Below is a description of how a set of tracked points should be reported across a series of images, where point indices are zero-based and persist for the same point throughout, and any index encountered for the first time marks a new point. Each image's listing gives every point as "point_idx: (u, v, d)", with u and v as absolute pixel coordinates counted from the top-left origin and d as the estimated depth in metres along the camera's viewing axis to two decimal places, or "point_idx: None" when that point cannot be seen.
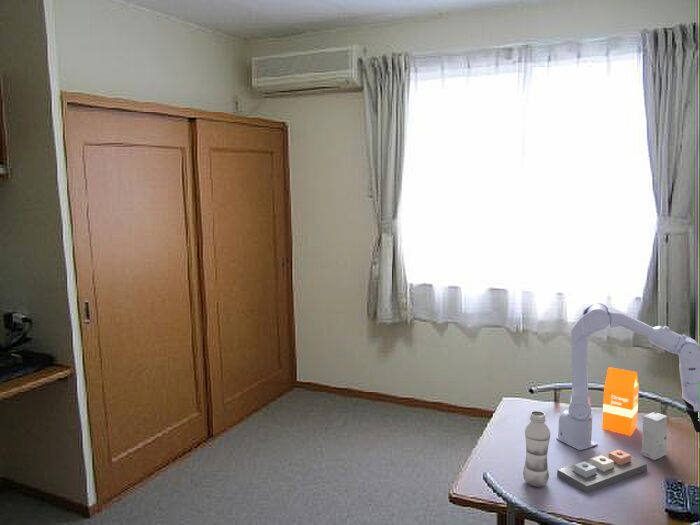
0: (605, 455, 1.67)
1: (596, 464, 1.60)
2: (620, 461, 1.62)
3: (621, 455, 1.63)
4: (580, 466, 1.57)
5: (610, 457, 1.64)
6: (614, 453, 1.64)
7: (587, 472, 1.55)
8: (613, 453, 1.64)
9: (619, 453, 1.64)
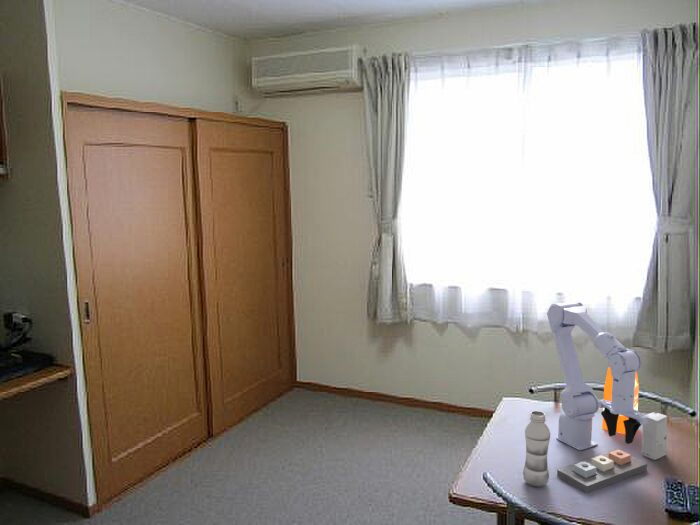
0: (605, 455, 1.67)
1: (596, 464, 1.60)
2: (620, 461, 1.62)
3: (621, 455, 1.63)
4: (580, 466, 1.57)
5: (610, 457, 1.64)
6: (614, 453, 1.64)
7: (587, 472, 1.55)
8: (613, 453, 1.64)
9: (619, 453, 1.64)
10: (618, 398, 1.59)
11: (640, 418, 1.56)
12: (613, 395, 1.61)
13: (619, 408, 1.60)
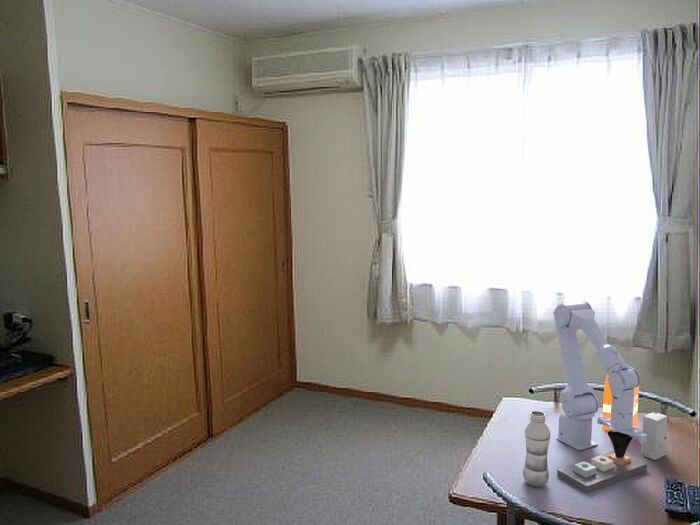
0: (605, 455, 1.67)
1: (596, 464, 1.60)
2: (620, 464, 1.62)
3: (621, 458, 1.63)
4: (580, 466, 1.57)
5: None
6: (614, 456, 1.64)
7: (587, 472, 1.55)
8: (613, 456, 1.64)
9: None
10: (617, 416, 1.60)
11: (639, 436, 1.56)
12: (612, 412, 1.62)
13: (618, 426, 1.60)
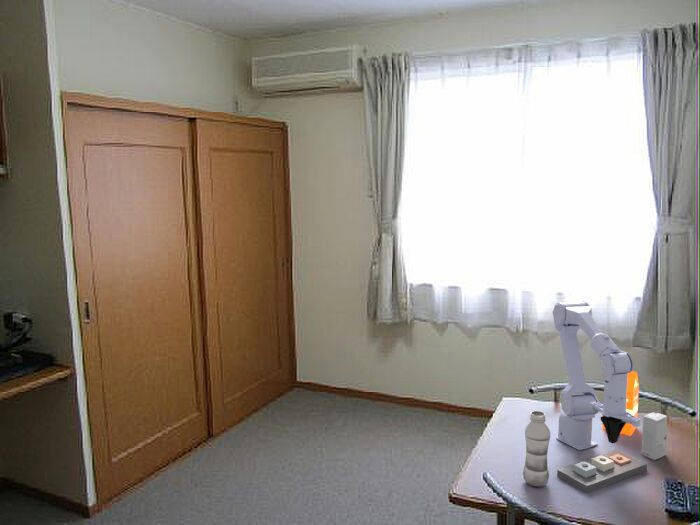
0: (605, 455, 1.67)
1: (596, 464, 1.60)
2: None
3: (621, 460, 1.63)
4: (580, 466, 1.57)
5: None
6: (614, 458, 1.64)
7: (587, 472, 1.55)
8: (613, 458, 1.64)
9: (619, 458, 1.64)
10: (610, 401, 1.58)
11: (632, 420, 1.54)
12: (605, 397, 1.59)
13: (611, 410, 1.58)
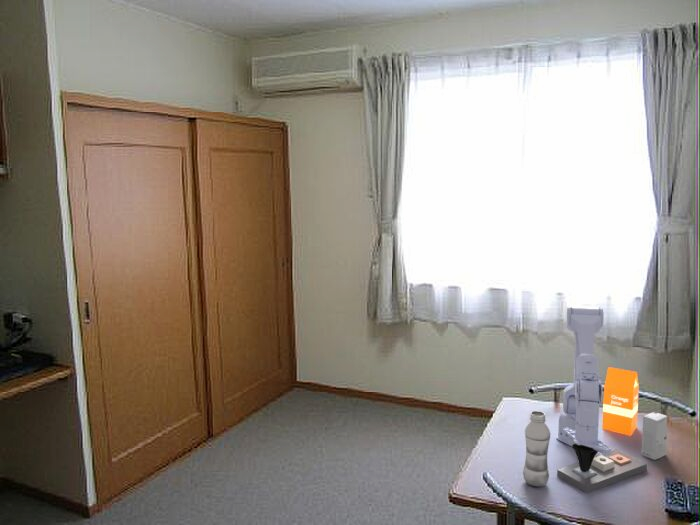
0: None
1: (596, 464, 1.60)
2: None
3: (621, 460, 1.63)
4: (580, 471, 1.57)
5: None
6: (614, 458, 1.64)
7: (587, 477, 1.55)
8: (613, 458, 1.64)
9: (619, 458, 1.64)
10: (581, 428, 1.54)
11: (603, 450, 1.50)
12: (577, 425, 1.55)
13: (582, 438, 1.54)
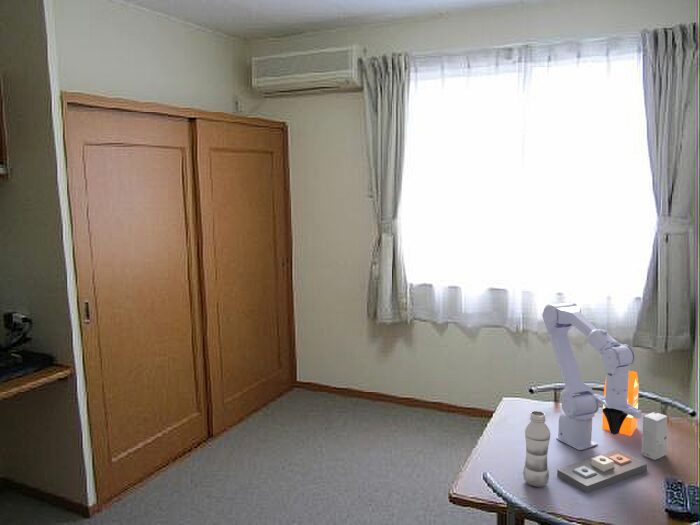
0: (605, 455, 1.67)
1: (596, 464, 1.60)
2: None
3: (621, 460, 1.63)
4: (580, 471, 1.58)
5: None
6: (614, 458, 1.64)
7: (587, 477, 1.55)
8: (613, 458, 1.64)
9: (619, 458, 1.64)
10: (612, 393, 1.61)
11: (634, 412, 1.57)
12: (607, 389, 1.63)
13: (613, 402, 1.61)
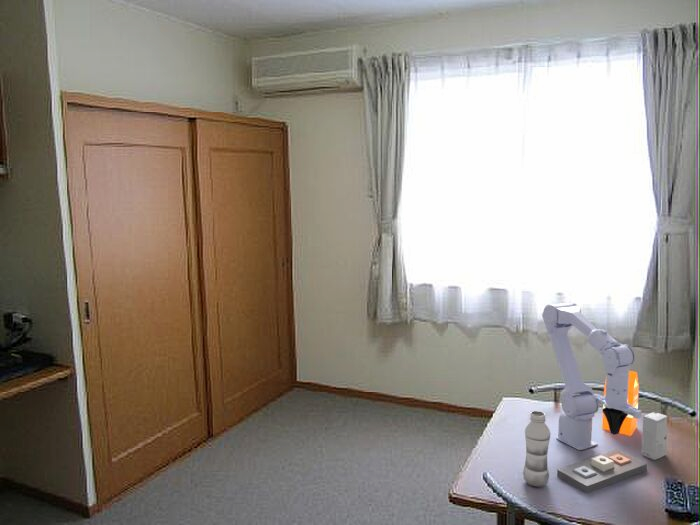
0: (605, 455, 1.67)
1: (596, 464, 1.60)
2: None
3: (621, 460, 1.63)
4: (580, 471, 1.58)
5: None
6: (614, 458, 1.64)
7: (587, 477, 1.55)
8: (613, 458, 1.64)
9: (619, 458, 1.64)
10: (612, 392, 1.61)
11: (634, 412, 1.57)
12: (607, 389, 1.63)
13: (613, 402, 1.61)
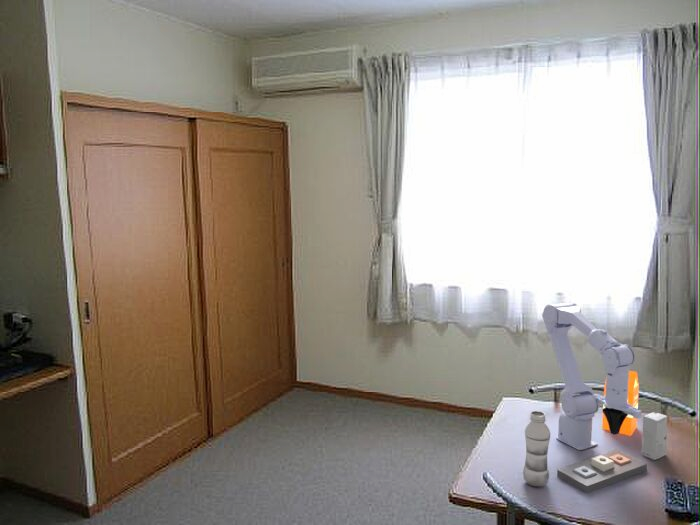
0: (605, 455, 1.67)
1: (596, 464, 1.60)
2: None
3: (621, 460, 1.63)
4: (580, 471, 1.58)
5: None
6: (614, 458, 1.64)
7: (587, 477, 1.55)
8: (613, 458, 1.64)
9: (619, 458, 1.64)
10: (612, 392, 1.61)
11: (634, 412, 1.57)
12: (607, 389, 1.63)
13: (613, 402, 1.61)
